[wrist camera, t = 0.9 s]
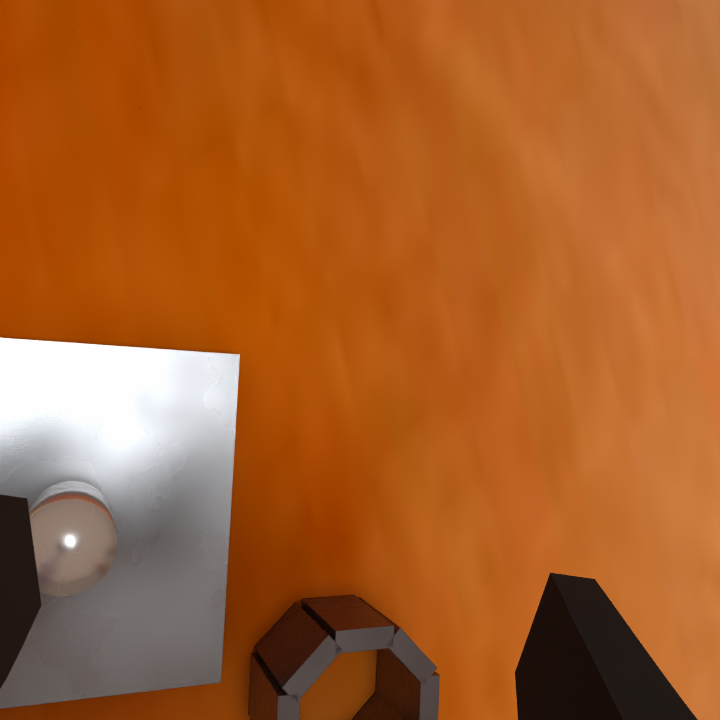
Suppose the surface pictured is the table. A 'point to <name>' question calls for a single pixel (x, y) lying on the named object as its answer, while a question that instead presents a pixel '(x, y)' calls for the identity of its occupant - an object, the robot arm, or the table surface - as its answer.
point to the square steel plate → (120, 513)
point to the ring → (323, 644)
